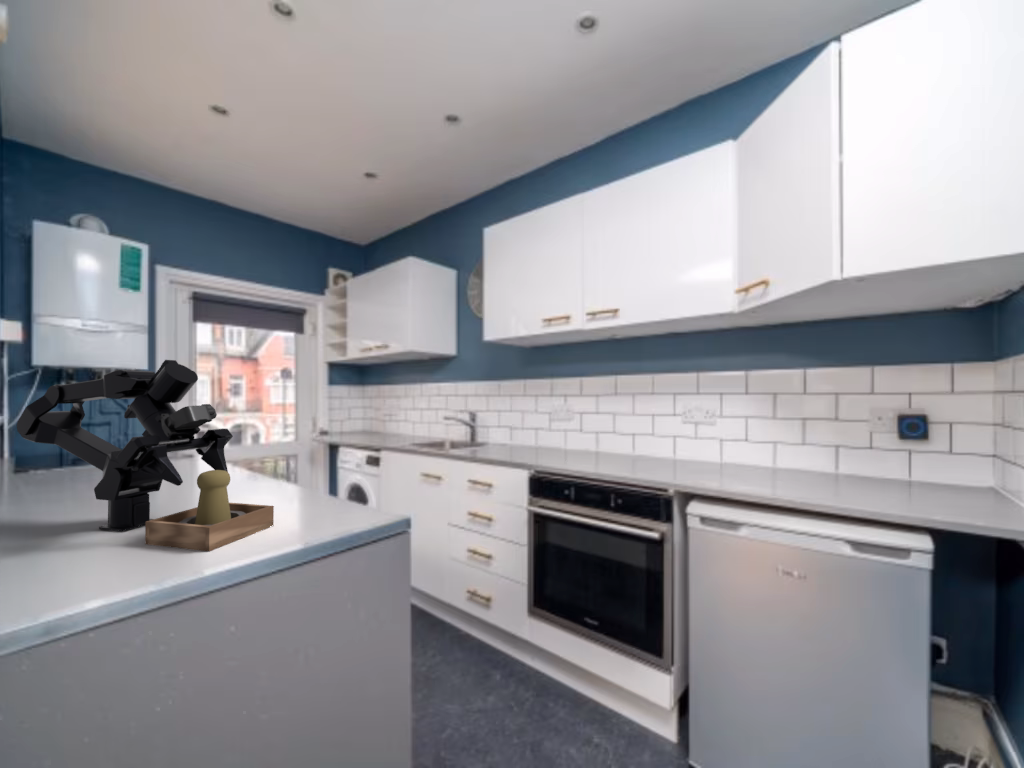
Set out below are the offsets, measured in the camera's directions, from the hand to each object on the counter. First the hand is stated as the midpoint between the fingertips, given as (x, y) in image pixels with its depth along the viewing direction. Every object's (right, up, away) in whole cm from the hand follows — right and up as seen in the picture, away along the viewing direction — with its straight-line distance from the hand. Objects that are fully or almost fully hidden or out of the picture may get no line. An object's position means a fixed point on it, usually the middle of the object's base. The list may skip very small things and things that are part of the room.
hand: (204, 478), depth 81 cm
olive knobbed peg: (+2, -10, -1) cm, 10 cm away
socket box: (+2, -10, -1) cm, 11 cm away
